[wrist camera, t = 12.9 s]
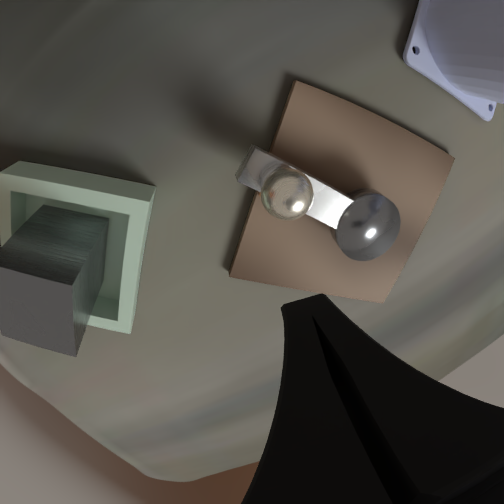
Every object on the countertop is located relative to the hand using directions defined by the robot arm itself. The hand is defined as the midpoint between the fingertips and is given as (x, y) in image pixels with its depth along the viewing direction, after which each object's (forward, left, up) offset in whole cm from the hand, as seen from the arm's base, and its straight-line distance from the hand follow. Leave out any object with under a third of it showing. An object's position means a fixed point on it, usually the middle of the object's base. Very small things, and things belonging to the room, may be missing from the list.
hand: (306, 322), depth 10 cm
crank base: (-2, +5, -8) cm, 10 cm away
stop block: (+4, -10, -8) cm, 13 cm away
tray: (+4, -10, -8) cm, 13 cm away
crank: (-2, +2, -7) cm, 8 cm away
